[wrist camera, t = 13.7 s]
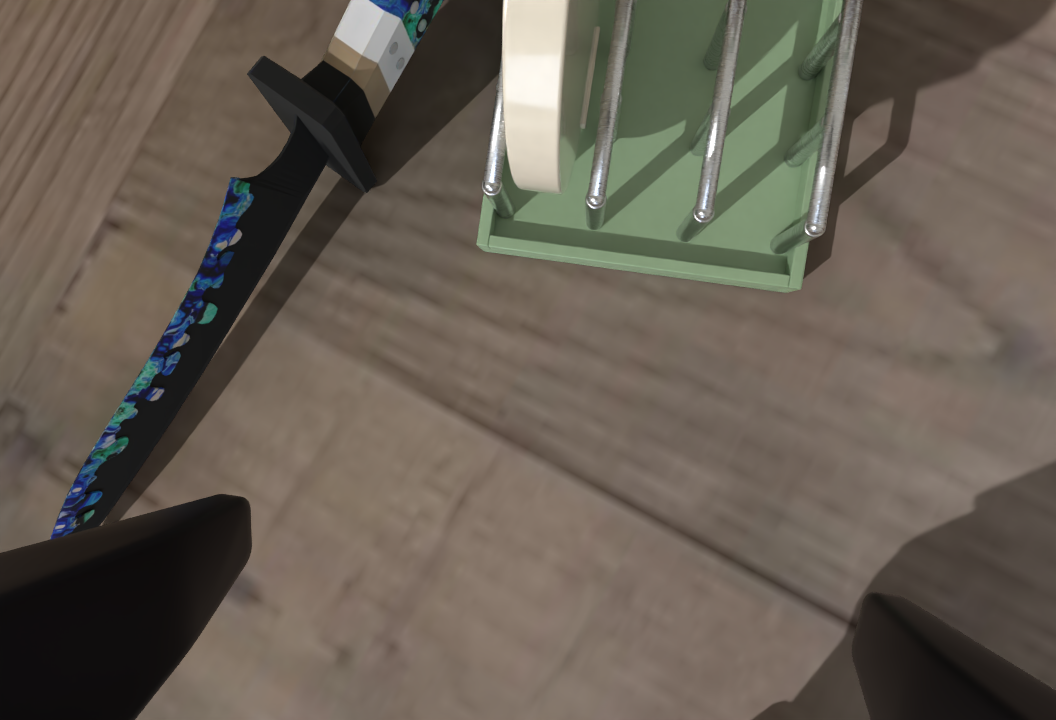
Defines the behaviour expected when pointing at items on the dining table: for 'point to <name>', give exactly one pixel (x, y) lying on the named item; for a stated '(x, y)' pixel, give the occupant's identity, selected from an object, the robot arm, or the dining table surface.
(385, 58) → the knife
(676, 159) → the dish rack
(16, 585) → the robot arm
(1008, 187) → the dining table surface
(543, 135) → the plate
